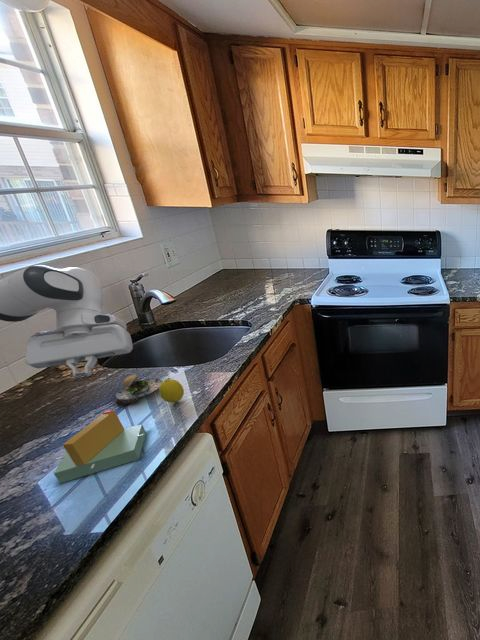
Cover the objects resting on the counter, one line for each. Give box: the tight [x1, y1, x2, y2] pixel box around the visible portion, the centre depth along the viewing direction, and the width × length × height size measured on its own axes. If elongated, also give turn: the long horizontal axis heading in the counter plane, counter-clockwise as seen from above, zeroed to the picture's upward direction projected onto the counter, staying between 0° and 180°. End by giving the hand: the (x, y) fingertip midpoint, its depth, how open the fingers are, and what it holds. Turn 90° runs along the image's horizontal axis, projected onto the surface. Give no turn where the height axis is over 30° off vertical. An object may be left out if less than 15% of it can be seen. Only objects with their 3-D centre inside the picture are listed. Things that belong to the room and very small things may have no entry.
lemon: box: [158, 378, 185, 404], centre depth 106 cm, size 6×6×8 cm
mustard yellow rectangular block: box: [62, 409, 125, 465], centre depth 85 cm, size 12×2×6 cm, turn 4°
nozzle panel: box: [53, 423, 147, 484], centre depth 87 cm, size 16×16×3 cm
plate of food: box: [114, 374, 163, 405], centre depth 111 cm, size 12×12×8 cm
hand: (82, 375), depth 92 cm, fingers closed
